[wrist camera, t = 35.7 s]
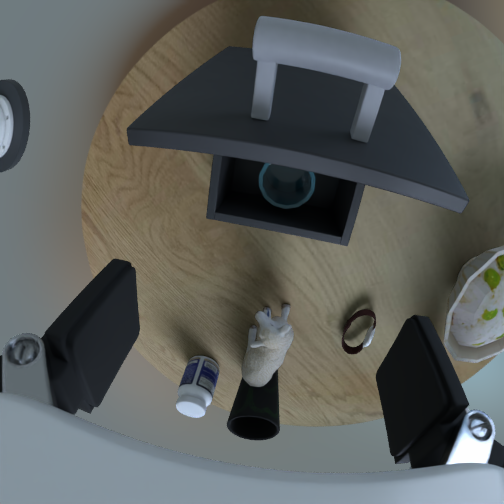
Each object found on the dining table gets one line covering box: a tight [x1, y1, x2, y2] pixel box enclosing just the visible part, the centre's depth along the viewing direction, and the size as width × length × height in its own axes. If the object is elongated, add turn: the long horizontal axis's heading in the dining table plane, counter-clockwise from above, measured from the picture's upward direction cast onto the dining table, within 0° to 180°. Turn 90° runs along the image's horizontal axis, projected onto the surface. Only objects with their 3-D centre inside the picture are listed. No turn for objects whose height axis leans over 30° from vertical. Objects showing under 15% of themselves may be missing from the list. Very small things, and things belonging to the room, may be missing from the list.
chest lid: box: [127, 16, 469, 213], centre depth 14 cm, size 16×14×5 cm
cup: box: [227, 369, 280, 440], centre depth 44 cm, size 8×8×12 cm
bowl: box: [444, 246, 504, 363], centre depth 32 cm, size 19×19×10 cm
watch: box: [342, 309, 376, 354], centre depth 41 cm, size 8×5×4 cm, turn 167°
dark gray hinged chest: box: [206, 154, 365, 246], centre depth 28 cm, size 16×14×9 cm
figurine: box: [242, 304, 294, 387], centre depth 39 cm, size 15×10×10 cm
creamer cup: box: [259, 163, 316, 209], centre depth 31 cm, size 5×6×6 cm
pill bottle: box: [176, 356, 219, 417], centre depth 46 cm, size 6×6×10 cm
